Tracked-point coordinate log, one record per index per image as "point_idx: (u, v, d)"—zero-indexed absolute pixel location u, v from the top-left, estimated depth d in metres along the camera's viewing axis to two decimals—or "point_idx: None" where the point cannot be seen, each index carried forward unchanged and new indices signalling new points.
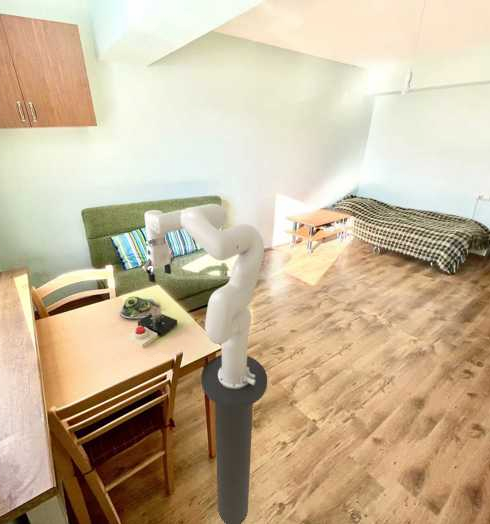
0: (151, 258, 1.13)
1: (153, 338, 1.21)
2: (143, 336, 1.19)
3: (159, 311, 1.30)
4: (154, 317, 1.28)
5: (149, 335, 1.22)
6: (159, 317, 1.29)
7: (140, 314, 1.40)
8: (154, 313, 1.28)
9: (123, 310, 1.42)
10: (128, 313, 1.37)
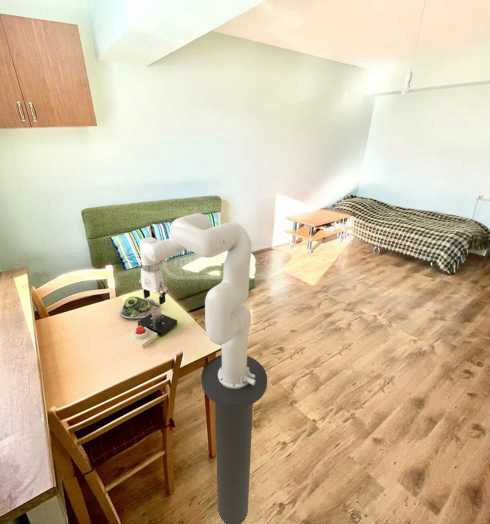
0: None
1: (153, 338, 1.21)
2: (143, 336, 1.19)
3: (159, 311, 1.30)
4: (154, 317, 1.28)
5: (149, 335, 1.22)
6: (159, 317, 1.29)
7: (140, 314, 1.40)
8: (154, 313, 1.28)
9: (123, 310, 1.42)
10: (128, 313, 1.37)
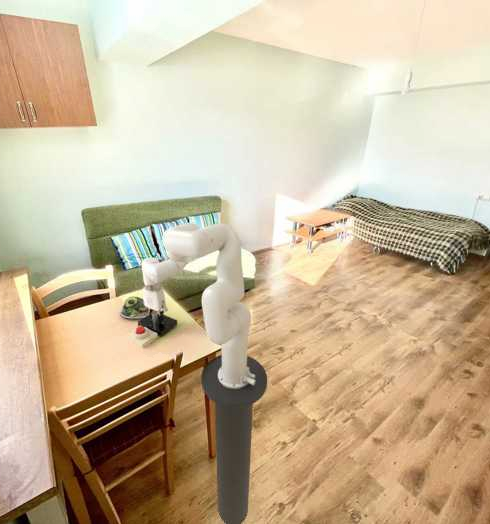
0: None
1: (153, 338, 1.21)
2: (143, 336, 1.19)
3: None
4: (154, 317, 1.28)
5: (149, 335, 1.22)
6: None
7: (140, 314, 1.40)
8: (154, 313, 1.28)
9: (123, 310, 1.42)
10: (128, 313, 1.37)
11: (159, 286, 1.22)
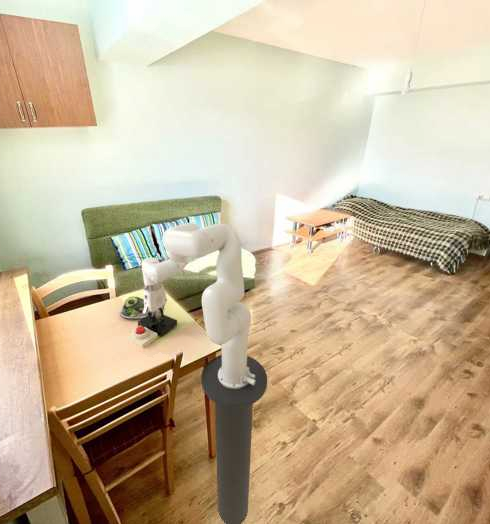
0: (147, 302, 1.22)
1: (153, 338, 1.21)
2: (143, 336, 1.19)
3: (156, 310, 1.31)
4: (160, 315, 1.29)
5: (149, 335, 1.22)
6: None
7: (140, 314, 1.40)
8: (158, 312, 1.29)
9: (123, 310, 1.42)
10: (128, 313, 1.37)
11: None
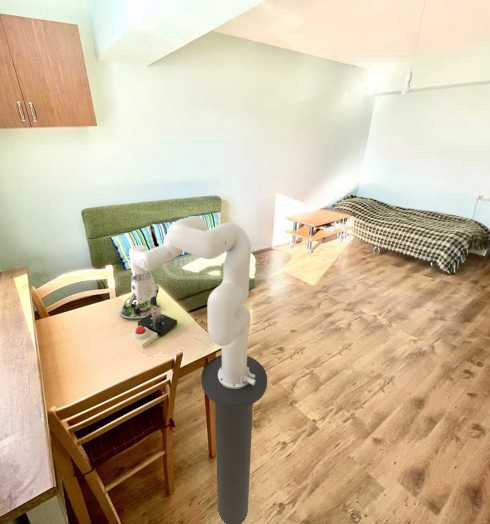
0: (135, 293, 1.14)
1: (153, 338, 1.21)
2: (143, 336, 1.19)
3: (156, 310, 1.31)
4: (160, 315, 1.29)
5: (149, 335, 1.22)
6: None
7: (140, 314, 1.40)
8: (158, 312, 1.29)
9: (123, 310, 1.42)
10: (128, 313, 1.37)
11: None
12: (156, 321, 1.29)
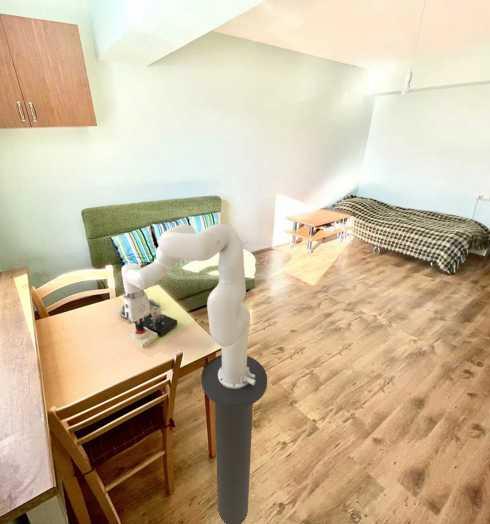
0: (128, 312, 1.12)
1: (153, 338, 1.21)
2: (143, 336, 1.19)
3: (156, 310, 1.31)
4: (160, 315, 1.29)
5: (149, 335, 1.22)
6: None
7: None
8: (158, 312, 1.29)
9: (123, 310, 1.42)
10: None
11: None
12: (156, 321, 1.29)
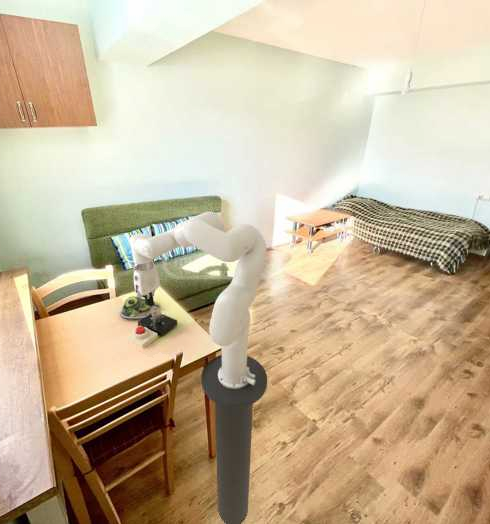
0: (138, 284, 1.08)
1: (153, 338, 1.21)
2: (143, 336, 1.19)
3: (156, 310, 1.31)
4: (160, 315, 1.29)
5: (149, 335, 1.22)
6: None
7: (140, 314, 1.40)
8: (158, 312, 1.29)
9: (123, 310, 1.42)
10: (128, 313, 1.37)
11: None
12: (156, 321, 1.29)
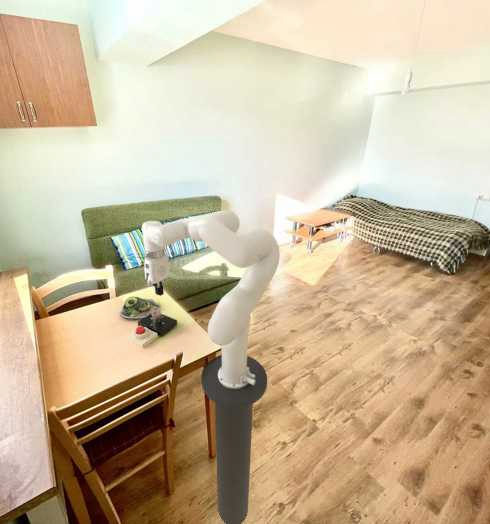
0: (149, 272, 1.06)
1: (153, 338, 1.21)
2: (143, 336, 1.19)
3: (156, 310, 1.31)
4: (160, 315, 1.29)
5: (149, 335, 1.22)
6: None
7: (140, 314, 1.40)
8: (158, 312, 1.29)
9: (123, 310, 1.42)
10: (128, 313, 1.37)
11: None
12: (156, 321, 1.29)
